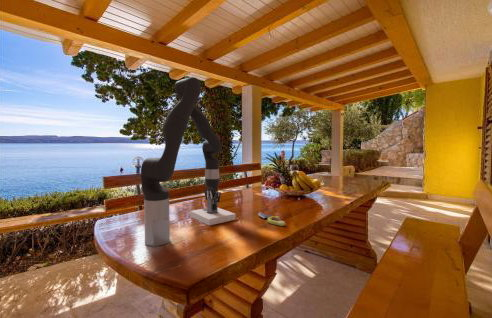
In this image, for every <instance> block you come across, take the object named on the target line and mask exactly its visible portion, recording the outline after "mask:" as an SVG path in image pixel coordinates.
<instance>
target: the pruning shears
mask: <svg viewBox="0 0 492 318" xmlns="http://www.w3.org/2000/svg"><path fill="white" fill-rule="evenodd" d="M257 215H258V216H260V217H261V218H262V219H267V222H268V223H269V224H271V225H274V226H279V227H280V226H281V227H283V226H286V222H285V221H284V220H281V217H280V216H277V215H272V214H264V213H262V212H261V211H259V212H258V214H257Z"/></svg>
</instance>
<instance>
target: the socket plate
mask: <svg viewBox="0 0 492 318" xmlns="http://www.w3.org/2000/svg"><path fill="white" fill-rule="evenodd" d="M189 212H190V213H189V214H190V215H189V216H190V217H191V218H192V219H195V220H197V221H199V222H201V223H203V224H205V225H206V226H213V225H217V224H221V223H226V222H230V221H235V220H236V213H234V212H231V211H228V210H226V209H223V208H220V207H218V213H213V214H210V213H208V212H207V207H206V208H200V209H193V210H190V211H189Z"/></svg>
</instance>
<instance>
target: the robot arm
mask: <svg viewBox="0 0 492 318" xmlns="http://www.w3.org/2000/svg"><path fill="white" fill-rule="evenodd" d="M174 91H175V94H176V97H177V98H178V100H179V101H178V102H177V104H176V105H174V106H173V108H172V109H170V111H169V112H168V114H167V116H166V117H165V119H164V123H163V125H162V129H161V130H162V137H163V140H164V144H165V145H164V149H163V152H162V155H161V157H148V158H146V159H144V160H143V162H142V163H141V167H140V182H141V191H142V194H143V200H144V205H143V207H144V209H143V210H144V244H145V245H146V246H150V247H152V248H153V247H154V248H155V247H159V246H162V245H167V244H169V243H170V242H171V241H170V240H171V239H170V237H171V235H170V233H171V232H170V229H171V228H170V191H169V190H168V189H166V188H164V186H162V184H161V183H164V182H168V181H170V180H171V178H172V176H173V174H174V172H175V167H176V163H177V159H178V155H179V150H180V148H181V144H182V142H183V138H184V136H185V134H186V131H187V127H188V125H189V122H190V121H189V120H190V118H191V119H192V121H193V123H194V126H195V128H196V130H197V132H198V134H199V136H200V138H201V139H202V140H203V139H204V140H205V141H204V142H203V143H202V146H201V147H202V153H203V158H204V161H205V170H204V185H205V187H206V188H205V189H204V190H203V192H204V198H205V200H206V201H207V198H209V197H210V195H211V199H212V203H213V204H212V210H213V211H214V210H217V203H218V204H219V203H220V200H221V196H222V195H221V194H222V192H221V191H218V187H219V186H220V163H219V158H217V157H214V154H218V153H220V152H221V151H222V148H223V146H222V142H221V140H220V139H219V138H218V136H217V134H216V133H215V132H214V131H213V129H212V126H211V123H210V122H209V120H208V117H206V115H205V114H204V113H203V112H201V111H200V110H199V109H198V107H196V103H197V101H198V99H199V97H200V95H201V93H202V92H201V91H202V85H201V82H200V80H199V79H198V78H197V77H194V76H192V77H187V78H184V79H180V80H178V81H176V82H175V84H174ZM214 199H215V200H214ZM217 199H218V200H217Z"/></svg>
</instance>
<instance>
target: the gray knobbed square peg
mask: <svg viewBox="0 0 492 318" xmlns="http://www.w3.org/2000/svg"><path fill="white" fill-rule="evenodd" d="M214 200H215V199H214ZM217 200H218V199H217ZM212 204H213V203H212V199H211V195H210V197H209V198H208V197H207V200H206V208H207V212H208V213H210V214H213V213H218V208H219V207H218V206H219V202H218V203H217V210H214V211H213V210H212Z"/></svg>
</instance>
